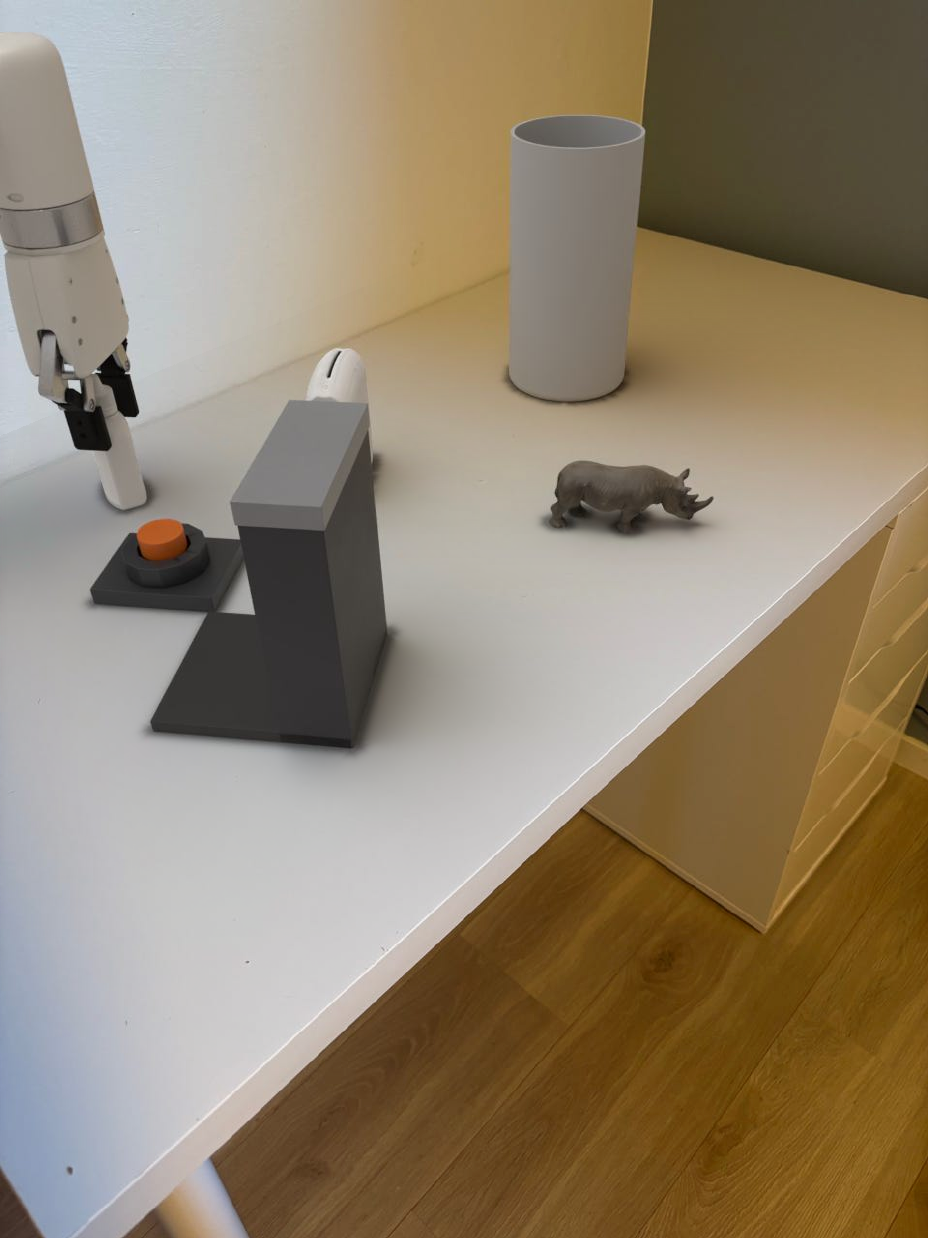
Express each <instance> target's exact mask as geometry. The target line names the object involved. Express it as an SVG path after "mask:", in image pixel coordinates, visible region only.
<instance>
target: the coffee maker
mask: <svg viewBox="0 0 928 1238" xmlns="http://www.w3.org/2000/svg"><path fill="white" fill-rule="evenodd" d="M369 412H370V408H369V409H368V403H350V402H327V401H306V399H305V400H304V399H303V400H301V399H289V400H288V402H287V403H286V405H285V406H284V408H283V410H282V411H281V414H280V415H279V416H278V419H277V420H276V421H275V424H274V426H273V427H272V429H271V430H270V431H269V434H268V436H267V437H266V439H265V441H264V442H263V444H262V446H261V447H260V449H259V451H258V453H257V455H256V456H255V458H254V459H253V461H252V463H251V465H250V467H249V468H248V469H247V472H246V473H245V475H244V477H243V478H242V480H241V481H240V483H239V485H238V487H237V489H236V490H235V492H234V493H233V495H232V497H231V499H230V501H229V504H230V505H229V506H230V510H231V514H232V520H233V524H234V526H236V527H237V531H238V537H239V539H240V542H241V547H242V552H243V557H244V558H243V562H244V566H245V571H246V576H247V582H248V586H249V591H250V597H251V601H252V602H251V603H252V607H253V611H254V614H252V613H251V614H248V613H238V612H237V613H236V612H224V611H223V612H221V611H215V612H206V615H205V617H204V619H203V621H202V623H201V625H200V626H199V629H198V630H197V632H196V634H195V636H194V638H193V640H192V641H191V643H190V645H189V646H188V649H187V651H186V653H185V655H184V656H183V659H182V661H181V662H180V664H179V666H178V667H177V670H176V671H175V674H174V675H173V677H172V679H171V680H170V683H169V685H168V687H167V688H166V690H165V692H164V694H163V696H162V698H161V700H160V702H159V704H158V706H157V707H156V709H155V711H154V713H153V715H152V717H151V718H150V722H149V724H150V726H151V729H152V732H155V733H168V734H177V735H178V734H181V735H190V736H191V735H192V736H200V737H201V736H202V737H203V736H205V737H214V738H225V739H237V740H249V741H261V742H272V743H284V744H294V745H295V744H296V745H308V746H317V747H318V746H319V747H328V748H329V747H330V748H339V749H340V748H342V749H353V748H354V745H355V742H356V738H357V735H358V732H359V729H360V725H361V722H362V719H363V716H364V713H365V710H366V707H367V704H368V703H367V702H368V699H369V697H370V693H371V689H372V686H373V683H374V679H375V677H376V674H377V669H378V667H379V663H380V660H381V656H382V653H383V650H384V645H385V643H386V641H387V636H388V627H387V616H386V615H387V614H386V605H385V604H386V603H385V593H384V584H383V582H384V581H383V573H382V563H381V562H382V561H381V549H380V538H379V531H378V530H379V529H378V528H379V527H378V519H377V518H378V517H377V506H376V497H375V487H374V486H375V485H374V477H373V476H374V475H373V462H372V463H371V452H370V441H369V431H368V429H369V426H370V422H371V418H370V419H369Z"/></svg>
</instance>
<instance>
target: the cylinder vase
mask: <svg viewBox="0 0 928 1238" xmlns="http://www.w3.org/2000/svg"><path fill="white" fill-rule="evenodd" d="M645 141H646V129H645V128H644V127H643V125H641V124H639V123H637V122H634V121H631V120H629V119H624V118H621V117H614V116H609V115H608V116H607V115H599V114H598V115H597V114H560V115H550V116H542V117H537V118H531V119H527V120H525V121H522V122H519V123H517V124H515V125H514V126H513V127H512V128H511V129H510V163H509V165H510V166H509V167H510V175H509V177H510V178H509V179H510V182H509V184H510V185H509V186H510V188H509V191H510V192H509V299H508V300H509V301H508V302H509V304H508V307H509V312H508V313H509V314H508V315H509V318H508V325H509V326H508V334H509V335H508V375H509V378H510V380H511V382H512V383H513V385H514V386H515V387H516V388H518V390H520V391H521V392H523V393H525V394H526V395H529V396H531V397H534V398H538V399H541V400H545V401H552V402H562V403H563V402H564V403H565V402H567V403H570V402H571V403H572V402H584V401H590V400H594V399H595V400H596V399H598V398H601V397H604V396H606V395H608V394H610V393H612V392H614V391H615V390H616V389H617V388H618V387H619V386H620V385H621V383H622V382H623V380H624V377H625V373H626V372H625V370H626V361H627V360H626V358H627V347H628V336H629V335H628V334H629V325H630V314H631V313H630V312H631V303H632V302H631V301H632V292H633V291H632V289H633V278H634V266H635V255H636V243H637V234H638V233H637V231H638V220H639V210H640V209H639V208H640V198H641V197H640V196H641V185H642V173H643V161H644V151H645Z"/></svg>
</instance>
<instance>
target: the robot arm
mask: <svg viewBox="0 0 928 1238" xmlns="http://www.w3.org/2000/svg"><path fill="white" fill-rule="evenodd" d="M68 81H69V80H68V78H67V74H66V69H65V66H64V63H63V60H62V56H61V53H60V52H59V50H58V48H57V46H56V45H55V44H54V43H53V41H52V40H51V39H49V38H47V37H46V36H44V35H42V34H37V33H35V32H25V31H4V32H3V31H2V32H0V238H1V242H2V244H3V248H4V250H5V251H6V252H5V254H4V256H3V258H4V268H5V276H6V281H7V289H8V294H9V298H10V304H11V308H12V312H13V316H14V317H13V318H14V321H15V324H16V329H17V332H18V337H19V340H20V344H21V348H22V351H23V354H24V355H23V356H24V357H25V361H26V364H27V367H28V369H29V372H30V373H31V374H32V375H33V377H36V378H37V377H38V382H37V383H38V384H37V391H38V394H39V396H40V397H43V398H44V399H47V400H49V401H51V402H52V403H53V404H55V405H56V406H57V407H58V410H59V411H63V414H64V417H65V421H66V424H67V427H68V430H69V434H70V437H71V440H72V444H73V446H74V448H75V449H76V450H78V451H91V452H93V451H109V450H110V448H111V447H112V443H111V439H110V436H109V432H108V429H107V425H106V421H105V418H104V414H103V411H102V407H101V406H96V404H95V395H94V386H93V377H92V374H97V375H98V377H99V379H100V381H101V383H102V384H103V385H108V386H110V387H111V388H112V391H113V394H114V398H115V402H116V406H117V410H118V411H119V412H120V413H121V414H122V415H123V416H124V417H125V418H136V417H138V415H139V414H140V408H139V405H138V401H137V397H136V396H137V395H136V393H135V389H134V384H133V379H132V377H131V374H130V373H129V372H130V371H131V361H130V359H129V356H128V354H127V351H128V345H129V342H128V341H129V340H128V339H127V336H128V333H129V331H130V325H129V321H130V319H129V318H130V317H129V315H128V313H127V308H126V304H125V299H124V294H123V292H122V288H121V285H120V282H119V278H118V274H117V271H116V268H115V265H114V262H113V259H112V256H111V254H110V250H109V247H108V245H107V242H106V239H105V235H106V232H105V228H104V225H103V219H102V217H101V216H102V215H101V213H100V207H99V204H98V200H97V196H96V193H95V188H94V183H93V179H92V175H91V171H90V167H89V163H88V159H87V156H86V152H85V147H84V144H83V140H82V139H83V138H82V134H81V131H80V127H79V123H78V119H77V115H76V111H75V107H74V102H73V99H72V95H71V90H70V86H69V82H68ZM65 365H68V366H71V367H72V368H73V370H67V369H66V368H65ZM95 371H97V372H95ZM69 381H79V386H80V391H78V390H77V389H75V388H73V387H69Z"/></svg>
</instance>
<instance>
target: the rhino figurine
mask: <svg viewBox="0 0 928 1238" xmlns="http://www.w3.org/2000/svg"><path fill="white" fill-rule="evenodd" d="M690 472H691V469H690V467H688V468H686V469H684V470H683V471H682V472H681V473H680V474H679V475H678V476H674V475H673V474H670V473H669V472H667V471H665V470H662V469H661V468H658V467H655V466H652V465H647V464H639V465H628V466H619V465H618V466H617V465H610V464H609V465H608V464H603V463H600V462H596V461H592V460H583V459H581V460H575V461H573V462H570V463H568V464H567V465H565V466H564V467H563V468H562V469H561V470H560V471H559V472H558V473H557V478H556V479H557V480H556V487H555V489H554V492H553V493H554V496H555V498H556V502H554V503H553V504H551V505H550V508H549V510H550V511H551V518H549V520H548V524H549V525H550V526H551V527H553V528H555V529H561V528H566V527H568V524H567V520H566V519H565V517H564V516H563V515H564V514H565V513H566V512H567V514H568V515H570V516H575V517H576V516H577V517H582V516H585V515H586V513H587V512H588V511H587V509H586V508H585V507H583V506H582V503H581V502H583V503H585V504H586V505H588V506H589V507H591V508H593V509H594V510H596V511H598V512H602V513H611V512H615V511H621V513H620V515H619V521H618V523H616V528H617V530H618V531H619V532H620V533H621V534H623V535H628V534H633V533H634V532H635V528H633V525H632V524H631V521H635V522H636V521H640V520H642V519H643V518H642V517H643V514H642V512H644V511H645V510H647V509H648V508H649V507H651V506H652V505H656V506H657V505H660V504H661V505H662V507H663V508H662V509H663V510H664V511H665V512H666V513H667V514H669V515H672V516H675V517H678V518H680V519H683V520H687V521H690V520H692V519H693V518H694V515H695V514H696V513H698V512H700V511H701V510H703V509H705V508H706V507H708V506H709V505H711V503H712V502H713V501H714V499H715V498H714V497H715V496H713V495H712V496H710V497H709V498H707V499H705V500H700V501H698V500H697V499H698V498H699V496H700V494H698V493H696V494H688V493H689V492H691V491H692V487H689V486H686V485H685V480H687V479H688V478H689V476H690ZM696 500H697V501H696Z"/></svg>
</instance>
